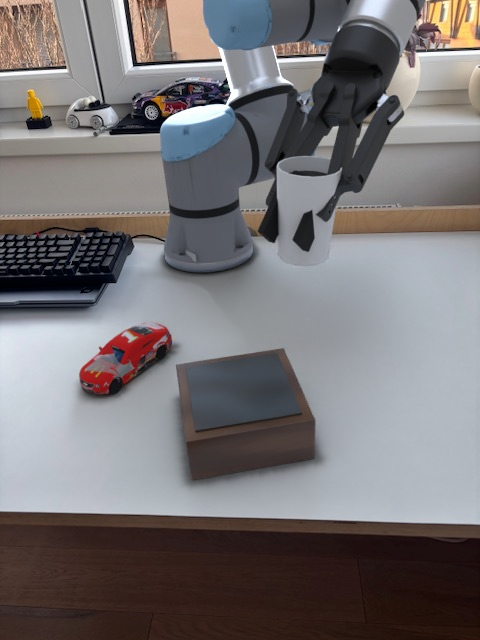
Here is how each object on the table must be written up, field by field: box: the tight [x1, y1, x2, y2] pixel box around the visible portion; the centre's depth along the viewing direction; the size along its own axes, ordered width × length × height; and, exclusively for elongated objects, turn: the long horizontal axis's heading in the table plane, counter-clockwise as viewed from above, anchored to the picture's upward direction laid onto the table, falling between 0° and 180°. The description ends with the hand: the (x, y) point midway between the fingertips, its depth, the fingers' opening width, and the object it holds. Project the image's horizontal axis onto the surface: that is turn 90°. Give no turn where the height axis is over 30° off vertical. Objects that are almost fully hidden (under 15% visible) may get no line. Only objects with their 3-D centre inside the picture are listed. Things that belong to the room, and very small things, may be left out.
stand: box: [175, 347, 316, 481], centre depth 55 cm, size 12×12×5 cm
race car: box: [78, 321, 173, 395], centre depth 66 cm, size 13×5×4 cm, turn 143°
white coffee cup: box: [276, 155, 342, 267], centre depth 58 cm, size 7×7×10 cm
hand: (283, 241), depth 57 cm, fingers closed on white coffee cup, 4 cm apart
